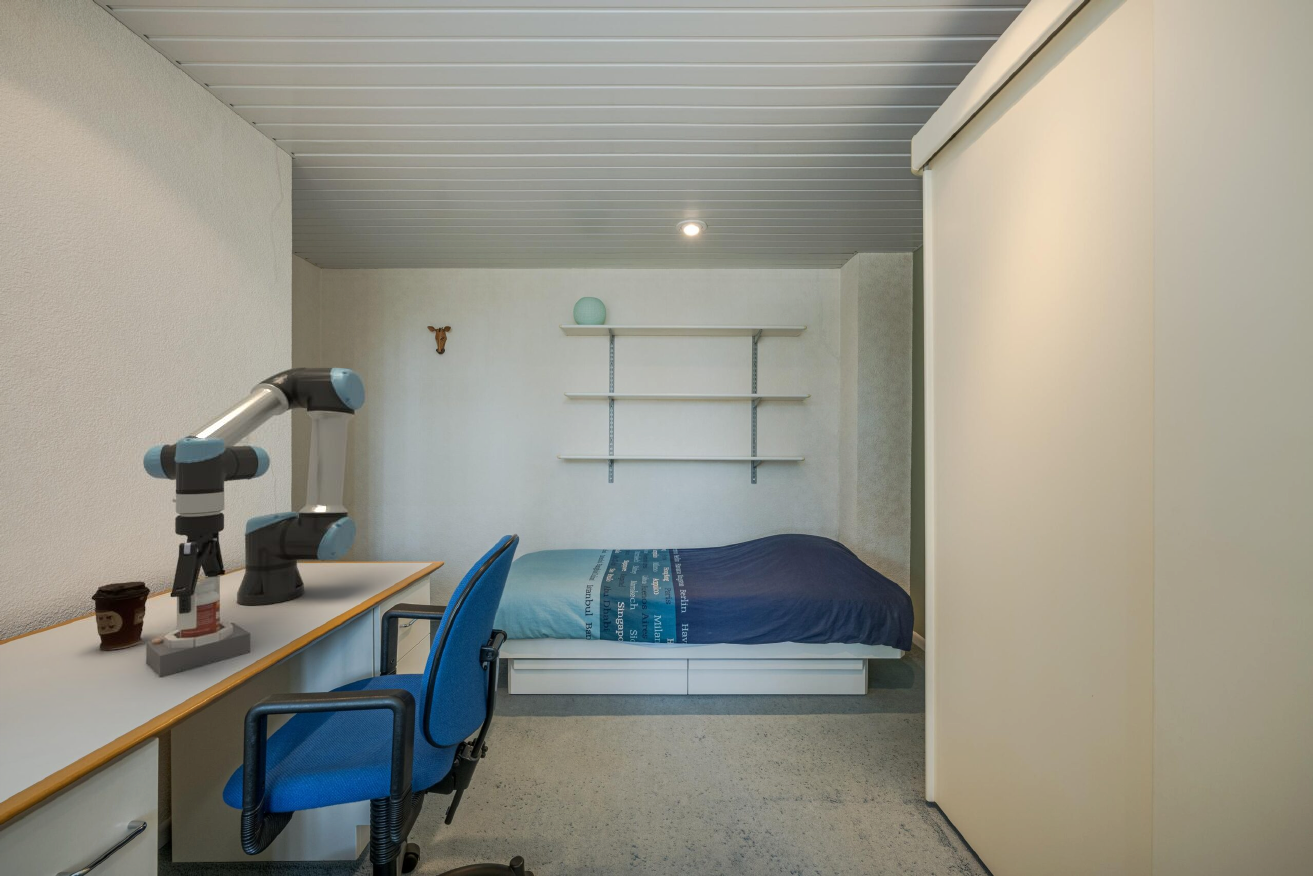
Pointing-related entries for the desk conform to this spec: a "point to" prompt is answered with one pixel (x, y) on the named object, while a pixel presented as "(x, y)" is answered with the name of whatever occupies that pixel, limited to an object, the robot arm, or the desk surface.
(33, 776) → the desk surface
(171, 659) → the grey block with ring
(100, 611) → the takeaway cup with lid
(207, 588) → the pill bottle
